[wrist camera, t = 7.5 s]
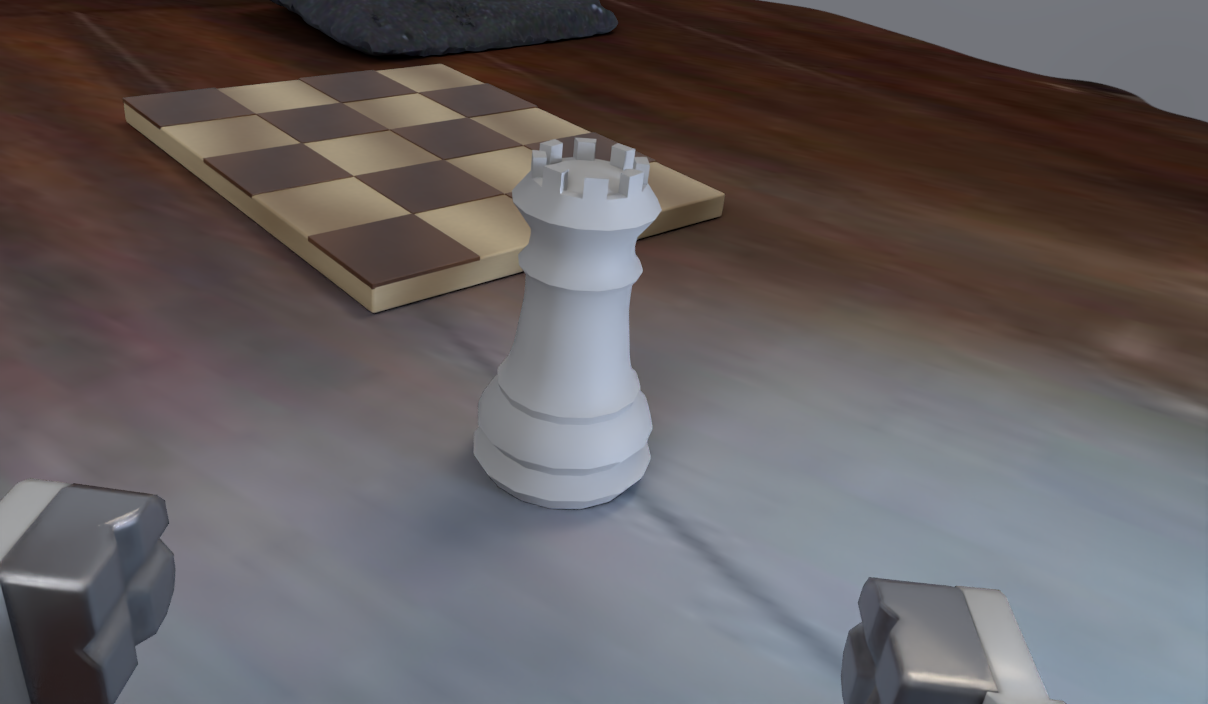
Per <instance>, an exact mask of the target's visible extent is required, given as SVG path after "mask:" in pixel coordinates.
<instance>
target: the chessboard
mask: <svg viewBox="0 0 1208 704" xmlns="http://www.w3.org/2000/svg"><path fill="white" fill-rule="evenodd" d="M122 99H123V103H124V109H125V116H126V121H127V122H128V123H129V124H130V125H131V126H133V127H134V128H135V129H137V130H138V131H139V132H140V133H142V134H143V135H144V136H146V137H147V138H148V139H149V140H151V141H152V142H153V143H155V144H156V145H157V146H158V147H160V148H161V149H162V150H164V151H165V152H166V153H167V154H169V155H170V156H171V157H173V158H174V159H175V160H176V161H178V162H179V163H180V164H182V165H183V166H184V167H185V168H187V169H188V170H189V171H191V172H192V173H193V174H194V175H196V176H197V177H198V178H200V179H201V180H202V181H203V182H205V183H206V184H207V185H209V186H210V187H211V188H212V189H214V190H215V191H216V192H218V193H219V194H220V195H221V196H223V197H224V198H225V199H227V200H228V201H229V202H230V203H232V204H233V205H234V206H236V207H237V208H238V209H239V210H241V211H242V212H243V213H245V214H246V215H247V216H248V217H250V218H251V219H252V220H254V221H255V222H256V223H257V224H259V225H260V226H261V227H263V228H264V229H265V230H266V231H268V232H269V233H270V234H272V235H273V236H274V237H275V238H277V239H278V240H279V241H281V242H282V243H283V244H284V245H286V246H287V247H288V248H290V249H291V250H292V251H293V252H295V253H296V254H297V255H299V256H300V257H301V258H302V259H304V260H305V261H306V262H308V263H309V264H310V265H311V266H313V267H314V268H315V269H317V270H318V271H319V272H320V273H322V274H323V275H324V276H326V277H327V278H328V279H329V280H331V281H332V282H333V283H335V284H336V285H337V286H338V287H340V288H341V289H342V290H344V291H345V292H346V293H347V294H349V295H350V296H351V297H353V298H354V299H355V300H356V301H358V302H359V303H360V304H362V305H363V306H364V307H365V308H367V309H368V310H369V311H371V312H372V313H376V312H380V311H383V310H387V309H390V308H394V307H398V306H401V305H405V304H408V303H412V302H415V301H419V300H423V299H426V298H430V297H433V296H437V295H441V294H444V293H448V292H451V291H455V290H458V289H462V288H466V287H469V286H473V285H476V284H480V283H483V282H487V281H491V280H494V279H498V278H501V277H505V276H508V275H512V274H516V273H519V272H523V270H522V268H521V267H520V266H519V259H518V254H519V253H520V252H521V251H522V250H523V249H524V248H525V247H526V246H527V245H528V244H529V239H530V235H531V228H530V227H529V225H528V224H527V222H526V221H525V219H524V218H523V216H522V215H521V213H520V212H519V210H518V209H517V207H516V206H515V204H514V203H513V197H512V190H513V189H514V188H515V187H516V186H517V184H518V183H519V182H520V181H521V180H522V179H523V178H524V177H525V176H526V175H527V174H528V173H529V172H530V171H531V161H532V150H538V151H539V150H540V143H543V142H546V141H550V140H553V139H556V140H558V141H560V142H562V143H563V149H562V158H569V157H573V152H574V140H575V138H590V139H597V141H596V151H595V159H600V160H605V161H610V159H611V150H612V146H613V145H615V144H617V142H615V141H612V140H610V139H608V138H606V137H604V136H602V135H599V134H597V133H595V132H592V133H591V132H589V131H587V130H584V129H582V128H580V127H578V126H576V125H573V124H571V123H569V122H567V121H565V120H563V119H560V118H558V117H556V116H554V115H552V114H549V113H547V112H545V111H543V110H541V109H539V108H538V106H536V105H534V104H531V103H529V102H527V101H525V100H523V99H520V98H518V97H516V96H514V95H512V94H509V93H507V92H505V91H503V90H501V89H499V88H496V87H494V86H492V85H490V84H488V83H486V84H484V83H482V82H480V81H477V80H475V79H473V78H471V77H469V76H466V75H464V74H462V73H460V72H458V71H456V70H453V69H451V68H449V67H447V66H445V65H442V64H435V65H426V66H417V67H408V68H399V69H390V70H381V71H374V70H368V71H359V72H350V73H341V74H332V75H323V76H314V77H306V78H299V80H293V81H284V82H275V83H266V84H257V85H248V86H240V87H231V88H222V89H216V88H207V89H198V90H189V91H180V92H171V93H162V94H153V95H144V96H135V97H127V98H122ZM634 157H647V159H648V161H649V164H650V169H649V176H648V184H649V186H650V187H651V189H652V191H653V192H654V194H655V196H656V197H657V199H658V201H659V204H660V207H661V209H662V210H661V212H660V213H659V215H658V216H657V218H656V219H655V220H654V221H653V222H652V223H651V224H650V225H649V226H648V227H647V228H646V229H645V230H644V231H643V232H642V233H641V234H640V235H639V236H638V237H637V239H641V238H644V237H648V236H652V235H655V234H659V233H662V232H666V231H669V230H673V229H677V228H680V227H684V226H687V225H691V224H695V223H698V222H702V221H705V220H709V219H712V218H716V217H720V216H721V215H722V210H723V204H724V198H725V194H724V193H722V192H720V191H718V190H715V189H713V188H711V187H709V186H707V185H704V184H702V183H700V182H698V181H696V180H694V179H691V178H689V177H687V176H685V175H683V174H680V173H678V172H676V171H674V170H672V169H670V168H667V167H665V166H663V165H661V164H659V163H656V160H654V159H652V158H650V157H648V156H645V155H643V154H641V153H639V152H637V151H635V156H634Z"/></svg>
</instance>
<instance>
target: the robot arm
mask: <svg viewBox="0 0 1208 704" xmlns="http://www.w3.org/2000/svg"><path fill="white" fill-rule="evenodd" d="M168 524H169V519H168V514H167V509H166V503H165V500H164V499H162V498H161V497H159V496H158V495H154V494H147V493H140V492H132V491H125V490H118V489H111V488H104V487H96V486H89V485H82V484H75V483H73V484H68V483H62V482H54V481H47V480H40V479H33V478H29V479H27V480H24V481H21V482H19V483H17V484H16V485H15V486H14V487H13V488H12V489H11V490H10V491H9V492H8V493H7V494H6V495H5V497H4V498H3V499H2V500H1V501H0V704H114V703H115V702H116V700H117V698H118V697H119V695H120V693H121V692H122V690H123V688H124V687H125V685H126V683H127V682H128V680H129V678H130V677H131V675H132V673H133V671H134V670H135V668H136V666H137V665H138V661H137V655H136V649H135V646H136V645H138V644H140V643H141V642H143V641H145V640H146V639H148V638H150V637H151V636H153V635H155V634H156V633H157V631H158V629H159V627H160V625H161V624H162V622H163V620H164V618H165V617H166V615H167V612H168V608H169V605H170V602H171V598H172V595H173V592H174V584H175V562H174V554H173V552H172V551H171V550H170V549H169V548H168V547H167V546H166V545H165V544H164V543H163V542H162V540H161V539H160V537H161V535H162V534H163V532H164V531H165V529H166V527H167V526H168ZM858 606H859V610H860V615H861V619H862V622H861V623H859V624H858V625H857V626H855V627H854V628H852V629H851V630H850V631H849V633H848V637H847V640H846V644H845V648H844V651H843V660H842V670H841V685H842V697H843V702H844V704H1066V703H1065V702H1064V701H1059V700H1051V699H1050V698H1049V696H1048V693H1047V691H1046V689H1045V686H1044V684H1043V682H1042V679H1041V677H1040V675H1039V672H1038V670H1037V668H1036V665H1035V663H1034V661H1033V658H1032V656H1031V654H1030V651H1029V649H1028V646H1027V644H1026V642H1025V639H1024V637H1023V635H1022V632H1021V630H1020V628H1019V625H1018V623H1017V621H1016V618H1015V616H1014V614H1013V611H1012V609H1011V607H1010V604H1009V602H1008V600H1007V597H1006V596H1005V595H1004V594H1003V593H1002V592H1001V591H1000V590H996V589H985V588H975V587H964V586H955V587H952V586H946V585H936V584H927V583H918V582H909V581H900V580H890V579H881V578H872V577H869V578H868V580H867V581H866V583H865V584H864V586H863V588H862V591H861V594H860V597H859V600H858Z"/></svg>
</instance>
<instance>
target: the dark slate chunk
mask: <svg viewBox="0 0 1208 704" xmlns="http://www.w3.org/2000/svg"><path fill="white" fill-rule="evenodd" d="M270 1H272V2H274V3H276V4H278V5H280V6H283V7H286V8H287V9H288V11H291V12H294V13H297V14H298V15H300V16H301V17H302V18H303V20H304V21H305V22H306V23H307V24H308V25H310V26H312V27H314V28H316V29H318V30H320V31H321V32H323V33H324V34H326V35H327V36H329V37H331V38H333V39H334V40H336V41H337V42H339V43H340V44H343V45H345V46H347V47H349V48H352V49H354V50H358V51H361V52H363V53H365V54H368V55H373V56H384V55H400V54H404V55H409V56H417V55H419V56H429V55H444V54H447V53H460V52H463V51H483V50H486V49H489V48H503V47H512V46H520V45H530V44H537V43H543V42H545V41H556V40H560V39H570V38H579V37H585V36H592V35H594V34H604V33H608V32H610V31H611V30H613V29H614V28H615V27H616V26H617V24H618V21H617V19H616V18H615V16H614V14H613V13H612V12H611V11H609V10H606V9H605V8H603V7H602V6H601V5H600V2H599V0H270Z"/></svg>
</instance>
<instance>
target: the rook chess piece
mask: <svg viewBox="0 0 1208 704" xmlns="http://www.w3.org/2000/svg"><path fill="white" fill-rule="evenodd" d="M596 141H597V139H590V138H575V140H574V152H573V157H569V158H562V149H563V143H562V142H560V141H558V140H556V139H553V140H550V141H546V142H543V143H540V150H539V151H538V150H532V161H531V171H530V172H529V173H528V174H527V175H526V176H525V177H524V178H523V179H522V180H521V181H520V182H519V183H518V184H517V186H516V187H515V188H514V189H513V190H512V197H513V203H514V204H515V206H516V207H517V209H518V210H519V212H520V213H521V215H522V216H523V218H524V219H525V221H526V222H527V224H528V225H529V227H530V228H531V235H530V239H529V244H528V245H527V246H526V247H525V248H524V249H523V250H522V251H521V252H520V253H519V254H518V259H519V266H520V267H521V268H522V270H523V271H524V272H525V274H526V280H525V294H524V300H523V304H522V309H521V313H520V318H519V322H518V327H517V331H516V335H515V340H514V344H513V346H512V349H511V351H510V354H509V355H508V356H507V357H506V358H505V360H504V361H503V362H502V363H501V365H500V366H499V367H498V374H497V375H496V376H495V377H494V378H493V379H492V381H491V382H490V383H489V385H488V386H487V387H486V388H485V390H484V391H483V393H482V395H481V398H480V400H479V403H478V425H479V427H478V428H477V430H476V431H475V432H474V455H475V457H476V458H477V460H478V461H479V463H480V464H481V466H482V467H483V468H484V470H485V471H486V473H487V474H488V475H489V477H490V478H491V479H492V480H493V481H494V482H495V483H496V484H497V486H498V487H500V488H502V489H503V490H505V491H506V492H508V493H510V494H511V495H513V496H515V497H516V498H518V499H519V500H521V501H525V502H528V503H532V504H536V505H539V506H543V507H547V508H550V509H583V508H587V507H591V506H595V505H598V504H602V503H606V502H609V501H611V500H612V499H614V498H615V497H616V496H618V495H619V494H621V493H622V492H623V491H625V490H626V489H628V488H629V487H630V486H632V485H633V484H634V483H636V482H637V481H638V480H639V479H641V478H642V477H643V475H644V473H645V470H646V468H647V466H648V464H649V461H650V459H651V455H650V451H649V447H648V443H647V440H648V437H649V435H650V433H651V431H652V429H653V427H652V421H651V415H650V411H649V407H648V403H647V399H646V396H645V395H644V394H643V393H642V392H641V391H640V388H641V387H640V383H639V379H638V375H637V372H636V371H635V370H634V369H633V368H632V367H631V362H630V345H629V304H630V296H631V289H632V284H634V283H635V282H636V281H637V280H638V278H639V276H640V275H641V273H642V272H643V269H642V266H641V263H640V260H639V259H638V257H637V256H636V254H635V244H636V240H637V237H638V236H639V235H640V234H641V233H642V232H643V231H644V230H645V229H646V228H647V227H648V226H649V225H650V224H651V223H652V222H653V221H654V220H655V219H656V218H657V216H658V215H659V213H660V212H661V210H662V209H661V207H660V204H659V201H658V199H657V197H656V196H655V194H654V192H653V191H652V189H651V187H650V186H649V184H648V176H649V169H650V164H649V161H648V159H647V157H634V156H635V149H633V148H630V147H627V146H625V145H622V144H619V143H617V144H615V145H613V146H612V150H611V159H610V161H605V160H600V159H595V151H596Z"/></svg>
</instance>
